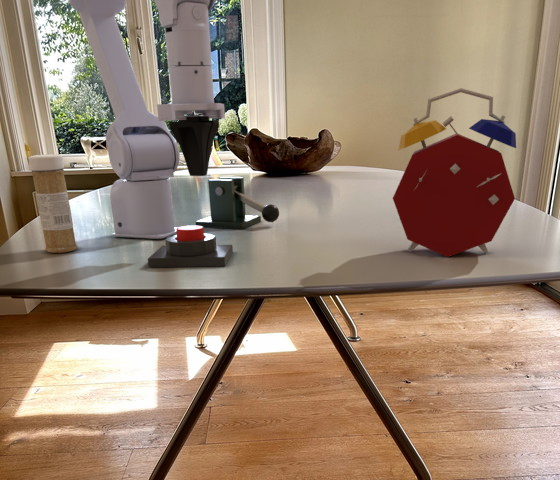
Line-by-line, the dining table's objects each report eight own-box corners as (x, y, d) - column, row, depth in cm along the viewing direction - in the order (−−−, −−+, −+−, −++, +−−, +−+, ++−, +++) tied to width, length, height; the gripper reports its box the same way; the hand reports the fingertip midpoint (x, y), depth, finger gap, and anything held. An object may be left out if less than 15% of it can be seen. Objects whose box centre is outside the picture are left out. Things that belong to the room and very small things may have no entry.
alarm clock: (503, 248, 81) (522, 86, 73) (509, 263, 74) (532, 84, 66) (393, 246, 85) (400, 91, 77) (388, 259, 77) (396, 89, 69)
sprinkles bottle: (75, 246, 92) (59, 153, 86) (79, 251, 88) (64, 154, 83) (43, 249, 90) (26, 155, 85) (47, 255, 86) (29, 156, 81)
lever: (278, 223, 104) (284, 208, 103) (271, 226, 102) (277, 210, 100) (221, 192, 106) (226, 176, 105) (213, 194, 104) (218, 178, 102)
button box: (148, 267, 77) (145, 244, 76) (162, 254, 85) (160, 232, 83) (225, 266, 77) (223, 243, 75) (232, 253, 84) (231, 231, 83)
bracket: (261, 221, 108) (259, 176, 105) (242, 229, 101) (239, 181, 98) (216, 219, 111) (213, 176, 108) (195, 227, 104) (191, 180, 101)
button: (174, 243, 78) (173, 230, 77) (180, 238, 81) (179, 225, 81) (201, 243, 78) (200, 229, 77) (206, 238, 81) (205, 224, 80)
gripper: (188, 62, 71) (197, 181, 76) (241, 68, 83) (246, 170, 89) (138, 65, 73) (151, 180, 79) (197, 71, 86) (204, 170, 91)
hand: (198, 175), depth 84 cm, fingers closed
